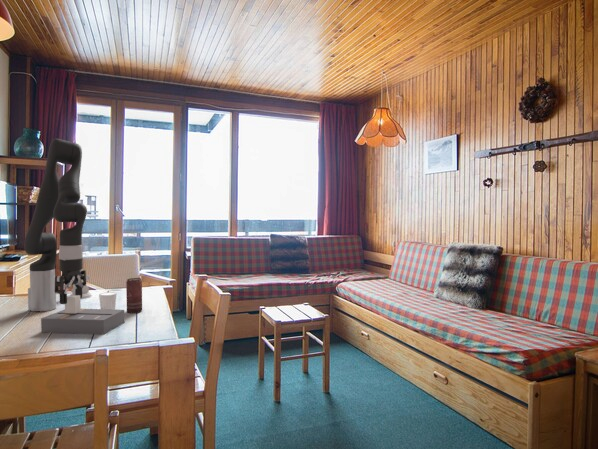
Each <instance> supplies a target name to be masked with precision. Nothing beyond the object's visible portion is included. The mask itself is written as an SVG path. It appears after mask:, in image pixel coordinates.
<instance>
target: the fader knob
mask: <svg viewBox="0 0 598 449" xmlns="http://www.w3.org/2000/svg"><path fill="white" fill-rule="evenodd" d="M64 309H65V313H70V314H75V313H78V312H80V311H81V309H82V308H81V299H80V295H71V294H69V295H67V304H64Z"/></svg>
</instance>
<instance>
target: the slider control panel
mask: <svg viewBox="0 0 598 449" xmlns="http://www.w3.org/2000/svg"><path fill="white" fill-rule="evenodd" d="M124 323H125V309H115V310H114V309H101V308H81V311H80V312H78V313H75V314H70V313H65V308H64V309H62V310H60V311H59V310H58V311H57V312H54V313H52V314H49V315H47V316H44V317H41V318H40V328H41V329H40V330H41V331H40V332H41V333H45V332H51V334H79V335H80V334H84V335H85V334H86V335H87V334H88V335H105V334H106V333H109V332H110V331H112V330H115V329H116V328H117V327H120V326H121V325H123V324H124Z"/></svg>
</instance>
